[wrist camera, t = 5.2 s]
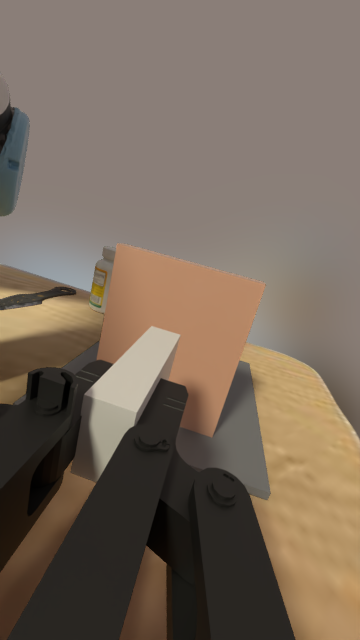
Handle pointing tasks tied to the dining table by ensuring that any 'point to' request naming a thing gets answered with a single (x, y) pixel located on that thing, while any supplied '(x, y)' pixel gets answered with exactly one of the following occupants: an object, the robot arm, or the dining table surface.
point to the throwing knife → (33, 298)
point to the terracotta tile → (182, 323)
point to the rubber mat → (219, 432)
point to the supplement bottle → (102, 280)
